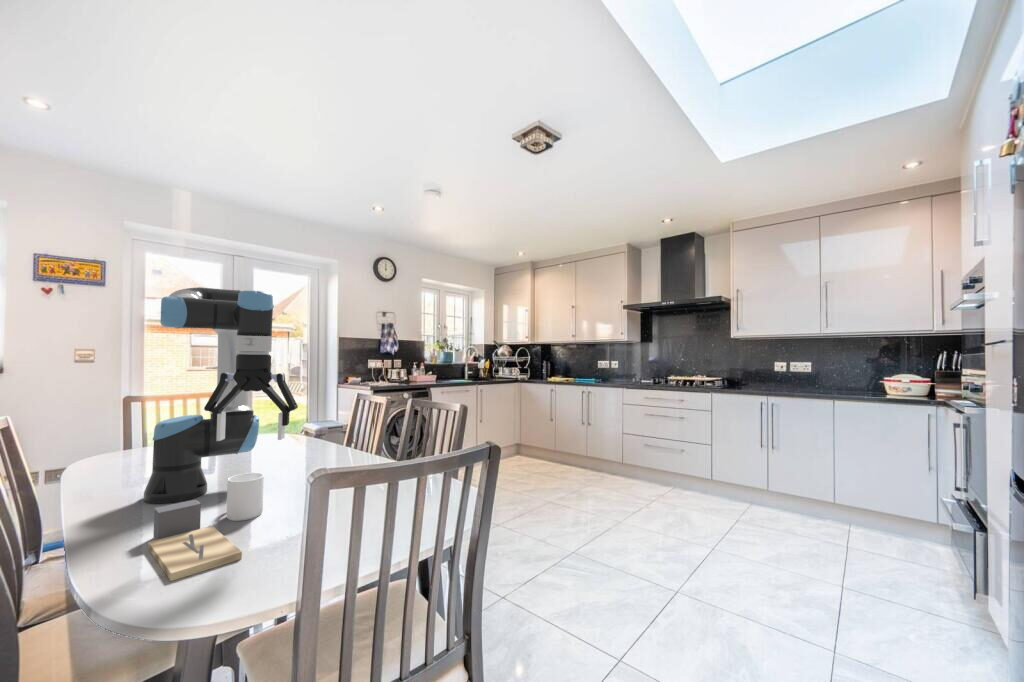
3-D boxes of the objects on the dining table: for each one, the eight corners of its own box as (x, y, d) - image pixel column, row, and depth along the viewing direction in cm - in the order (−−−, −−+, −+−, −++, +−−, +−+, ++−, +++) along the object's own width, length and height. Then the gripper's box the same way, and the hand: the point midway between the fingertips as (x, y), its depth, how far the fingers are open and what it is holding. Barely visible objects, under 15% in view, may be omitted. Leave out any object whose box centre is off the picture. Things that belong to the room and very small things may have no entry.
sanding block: (153, 538, 101) (154, 508, 101) (194, 527, 107) (195, 499, 107) (157, 544, 98) (158, 512, 98) (199, 532, 104) (200, 503, 104)
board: (148, 548, 95) (148, 541, 95) (212, 532, 104) (212, 525, 104) (170, 581, 82) (171, 573, 82) (241, 558, 91) (241, 551, 91)
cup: (233, 523, 109) (235, 483, 110) (215, 512, 117) (217, 474, 117) (268, 514, 116) (269, 476, 116) (249, 504, 123) (250, 468, 123)
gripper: (189, 352, 101) (186, 443, 100) (303, 354, 106) (301, 441, 105) (205, 352, 108) (202, 437, 108) (311, 354, 113) (309, 435, 113)
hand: (251, 439), depth 107 cm, fingers open, 13 cm apart
